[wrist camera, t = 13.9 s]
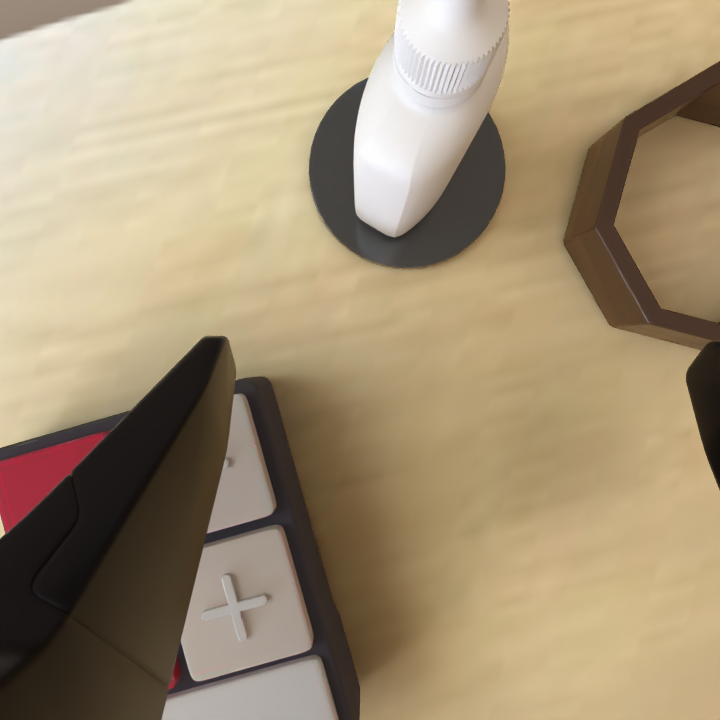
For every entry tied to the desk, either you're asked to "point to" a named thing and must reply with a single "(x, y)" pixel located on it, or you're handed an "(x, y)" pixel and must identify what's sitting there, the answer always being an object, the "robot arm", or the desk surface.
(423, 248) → the coaster
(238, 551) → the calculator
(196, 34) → the desk surface
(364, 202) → the eye dropper bottle
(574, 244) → the rack
